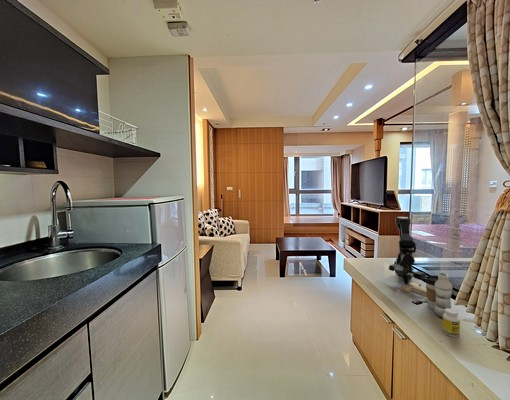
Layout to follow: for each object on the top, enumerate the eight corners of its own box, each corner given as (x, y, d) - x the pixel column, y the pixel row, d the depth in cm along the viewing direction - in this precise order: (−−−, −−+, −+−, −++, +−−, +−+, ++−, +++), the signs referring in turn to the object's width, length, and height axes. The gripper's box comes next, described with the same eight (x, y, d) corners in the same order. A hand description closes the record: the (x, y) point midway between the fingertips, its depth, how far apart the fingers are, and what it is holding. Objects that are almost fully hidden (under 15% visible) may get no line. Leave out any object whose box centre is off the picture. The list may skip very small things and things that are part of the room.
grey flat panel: (390, 276, 154) (390, 275, 154) (442, 294, 128) (442, 293, 128) (376, 281, 148) (376, 280, 148) (427, 300, 122) (427, 300, 122)
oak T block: (414, 284, 140) (414, 281, 140) (436, 292, 129) (436, 289, 129) (401, 289, 135) (401, 286, 134) (424, 298, 124) (424, 294, 124)
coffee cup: (450, 312, 111) (450, 281, 110) (430, 310, 113) (430, 280, 112) (440, 303, 119) (440, 274, 118) (421, 302, 121) (421, 274, 120)
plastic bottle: (430, 312, 111) (430, 272, 110) (444, 312, 111) (445, 271, 110) (440, 320, 105) (441, 277, 103) (456, 320, 104) (456, 277, 103)
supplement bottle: (452, 338, 93) (453, 315, 92) (439, 330, 98) (439, 308, 97) (463, 336, 94) (463, 312, 93) (449, 328, 99) (449, 306, 98)
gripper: (382, 258, 142) (383, 282, 143) (415, 267, 125) (415, 295, 126) (394, 254, 147) (394, 278, 148) (426, 263, 130) (426, 290, 131)
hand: (406, 285), depth 138 cm, fingers closed
